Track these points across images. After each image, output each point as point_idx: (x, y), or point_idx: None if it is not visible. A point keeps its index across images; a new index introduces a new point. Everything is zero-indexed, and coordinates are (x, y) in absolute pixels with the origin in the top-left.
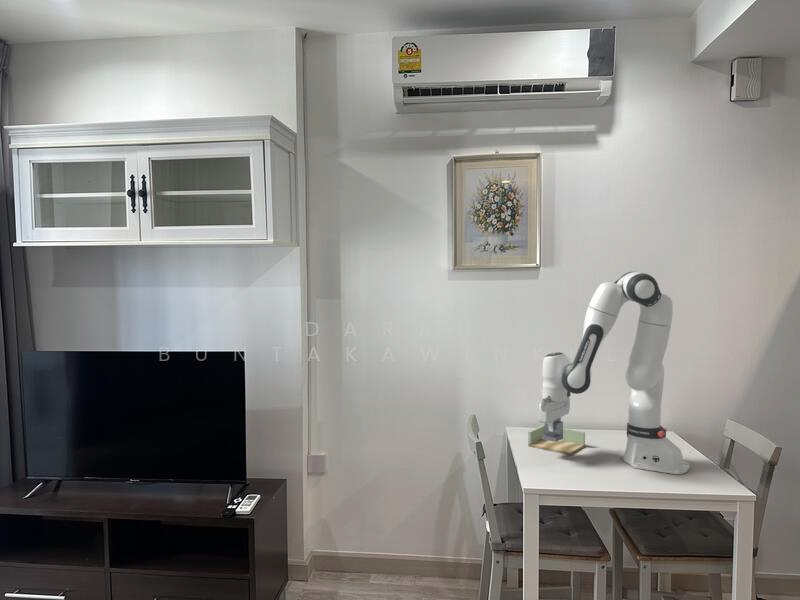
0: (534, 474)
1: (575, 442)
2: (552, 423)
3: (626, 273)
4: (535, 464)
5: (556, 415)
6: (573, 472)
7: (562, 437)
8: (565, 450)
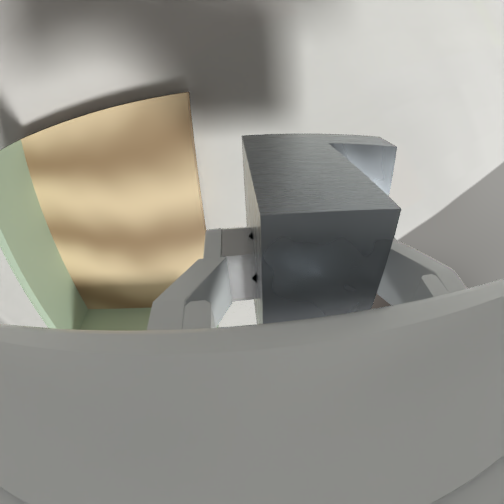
0: (495, 135)
1: (29, 182)
2: (444, 268)
3: None
4: (422, 169)
5: (462, 348)
6: (420, 3)
7: (257, 137)
8: (168, 136)
